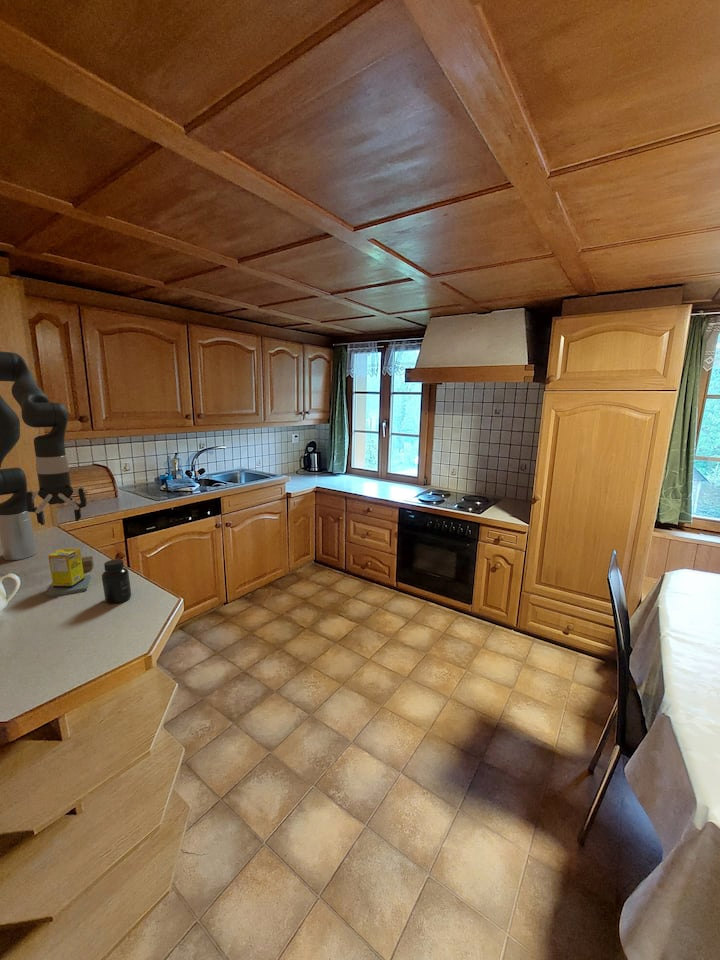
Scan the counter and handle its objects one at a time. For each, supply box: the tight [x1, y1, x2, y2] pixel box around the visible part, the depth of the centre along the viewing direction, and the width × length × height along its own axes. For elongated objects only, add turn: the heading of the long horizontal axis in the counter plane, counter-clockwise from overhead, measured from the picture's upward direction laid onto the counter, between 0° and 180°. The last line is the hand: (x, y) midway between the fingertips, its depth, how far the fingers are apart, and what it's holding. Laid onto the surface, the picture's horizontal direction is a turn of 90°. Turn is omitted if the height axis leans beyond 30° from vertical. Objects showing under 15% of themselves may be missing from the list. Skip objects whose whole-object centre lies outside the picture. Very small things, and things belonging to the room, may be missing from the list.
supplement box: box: [48, 547, 85, 588], centre depth 123 cm, size 6×6×11 cm
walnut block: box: [81, 555, 94, 573], centre depth 136 cm, size 4×4×4 cm
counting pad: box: [45, 574, 91, 598], centre depth 124 cm, size 10×10×1 cm
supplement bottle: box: [101, 558, 132, 605], centre depth 117 cm, size 7×7×12 cm
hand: (60, 522), depth 120 cm, fingers open, 8 cm apart
